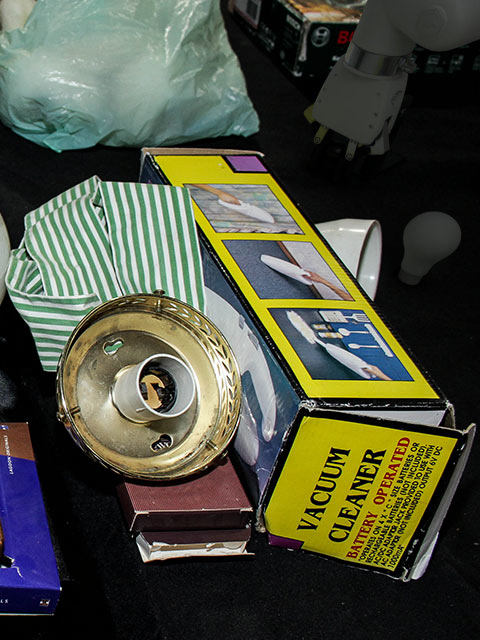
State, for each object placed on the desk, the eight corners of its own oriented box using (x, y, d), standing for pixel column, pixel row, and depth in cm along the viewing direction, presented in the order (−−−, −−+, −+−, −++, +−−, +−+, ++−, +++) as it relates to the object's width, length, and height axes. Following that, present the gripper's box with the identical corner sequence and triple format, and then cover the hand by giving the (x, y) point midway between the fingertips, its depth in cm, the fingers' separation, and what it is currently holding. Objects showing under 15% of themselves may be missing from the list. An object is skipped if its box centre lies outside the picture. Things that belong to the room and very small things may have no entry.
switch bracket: (362, 185, 131) (394, 114, 123) (316, 161, 136) (344, 91, 128) (401, 165, 135) (435, 95, 127) (355, 142, 140) (385, 74, 132)
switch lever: (337, 171, 129) (338, 158, 126) (319, 161, 131) (319, 148, 128) (400, 109, 129) (402, 95, 126) (381, 100, 131) (382, 86, 128)
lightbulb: (433, 280, 115) (473, 211, 107) (426, 306, 111) (467, 237, 104) (383, 264, 117) (419, 196, 110) (375, 289, 113) (411, 220, 106)
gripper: (449, 74, 115) (392, 191, 127) (340, 28, 125) (297, 140, 137) (416, 89, 112) (360, 207, 124) (307, 40, 122) (266, 154, 134)
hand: (327, 171), depth 131 cm, fingers closed on switch lever, 3 cm apart
